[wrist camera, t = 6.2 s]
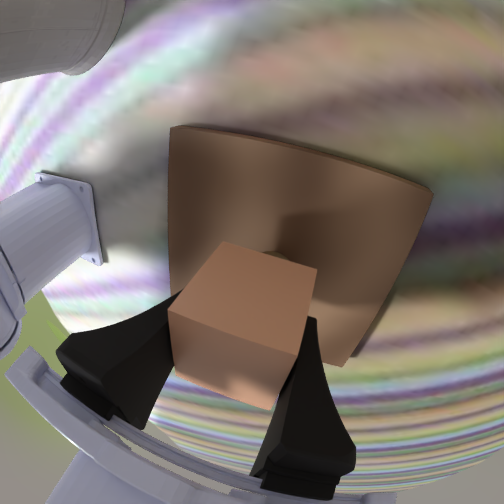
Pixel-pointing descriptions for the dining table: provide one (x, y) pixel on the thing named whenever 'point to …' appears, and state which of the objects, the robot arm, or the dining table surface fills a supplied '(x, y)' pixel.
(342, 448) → the robot arm
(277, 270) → the peach tilted cube
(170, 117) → the dining table surface
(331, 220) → the post base
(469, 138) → the dining table surface
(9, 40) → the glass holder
